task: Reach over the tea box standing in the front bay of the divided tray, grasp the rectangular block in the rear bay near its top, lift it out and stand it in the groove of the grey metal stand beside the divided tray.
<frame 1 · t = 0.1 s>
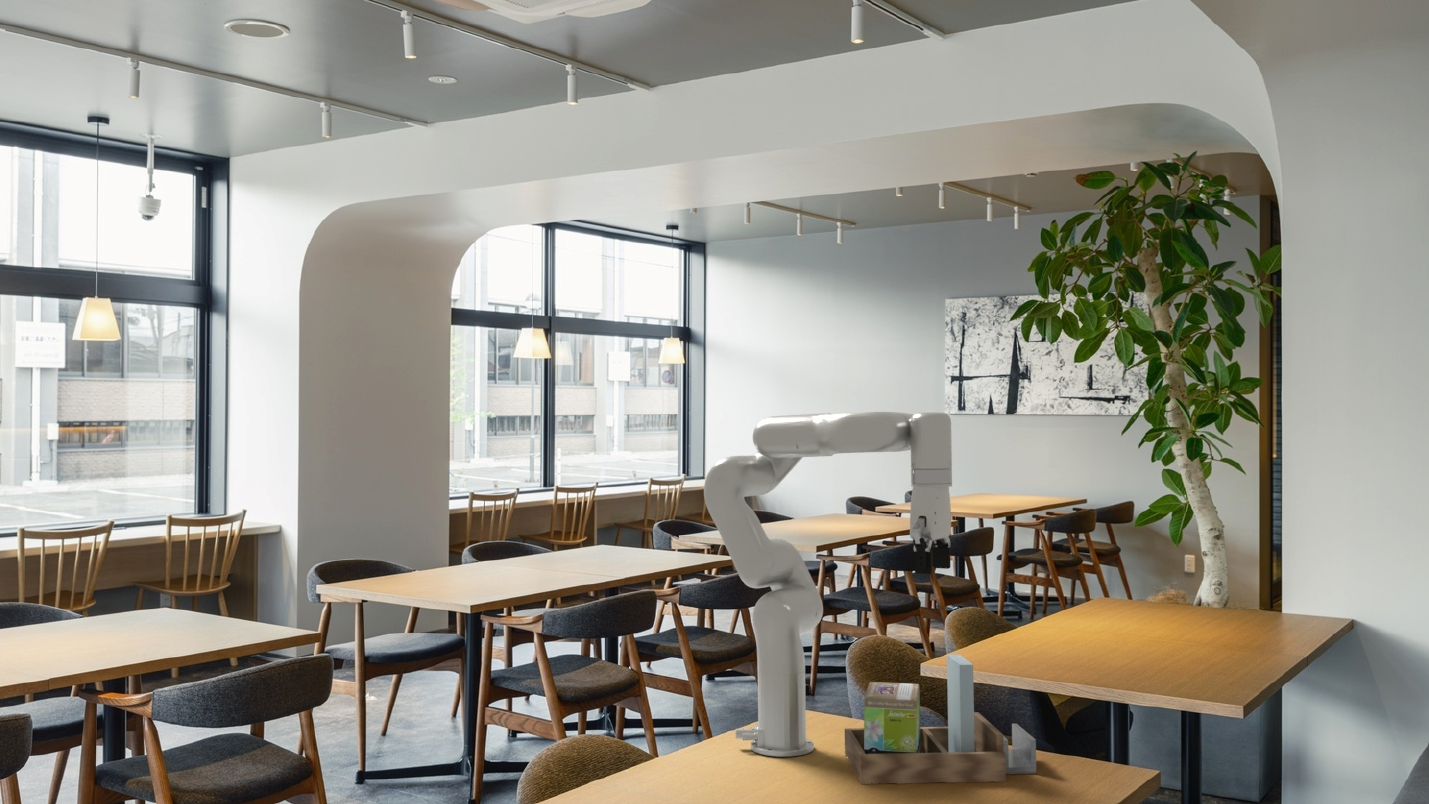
hand: (932, 570, 215), 37 cm above the table, tool pointing down, fingers open, 9 cm apart
rectangular block: (961, 766, 217), resting in divided tray
tea box: (892, 769, 217), resting in divided tray
stand: (1010, 764, 218), on the table
divided tray: (921, 767, 217), on the table
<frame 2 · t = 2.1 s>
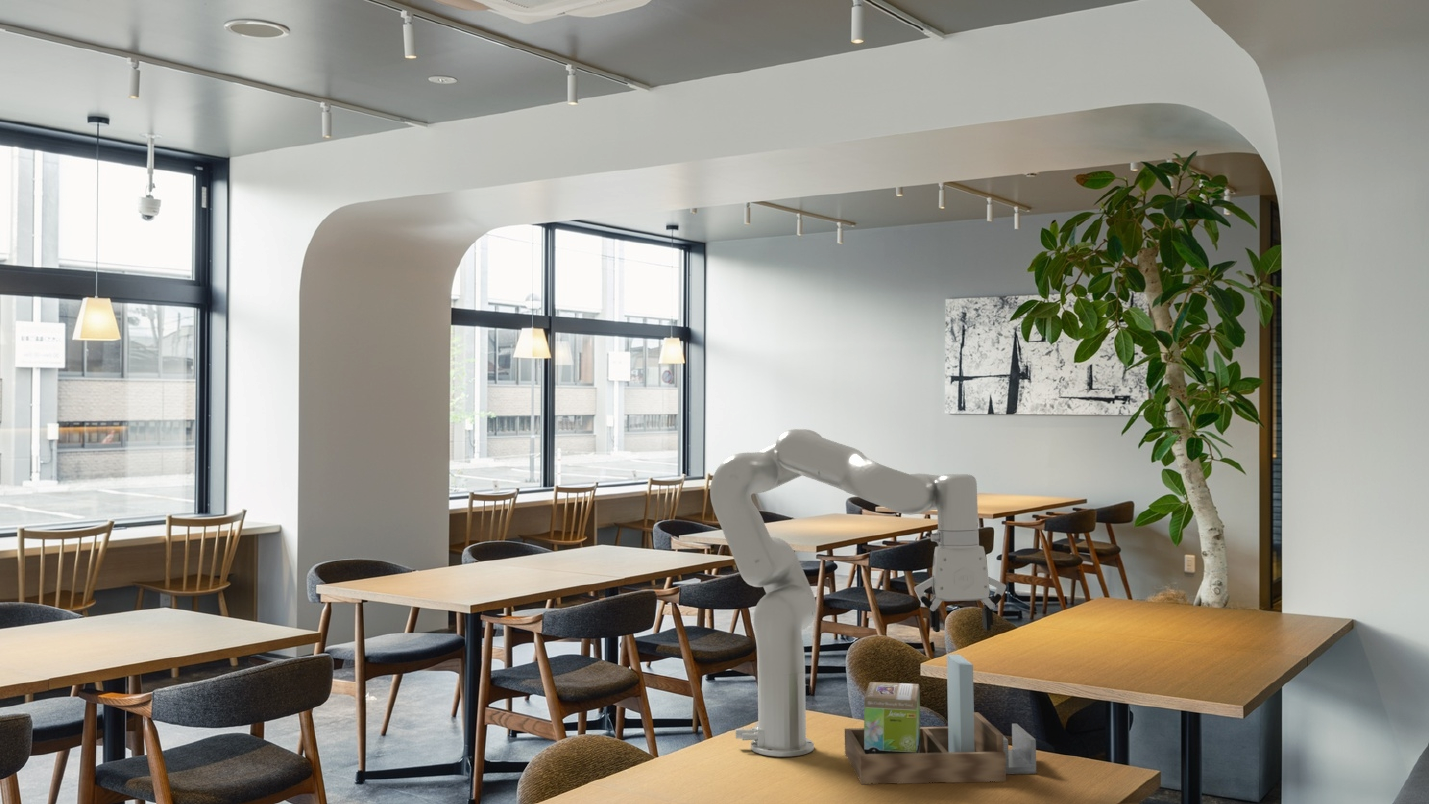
hand: (961, 630, 218), 25 cm above the table, tool pointing down, fingers open, 9 cm apart
nothing on the table moved.
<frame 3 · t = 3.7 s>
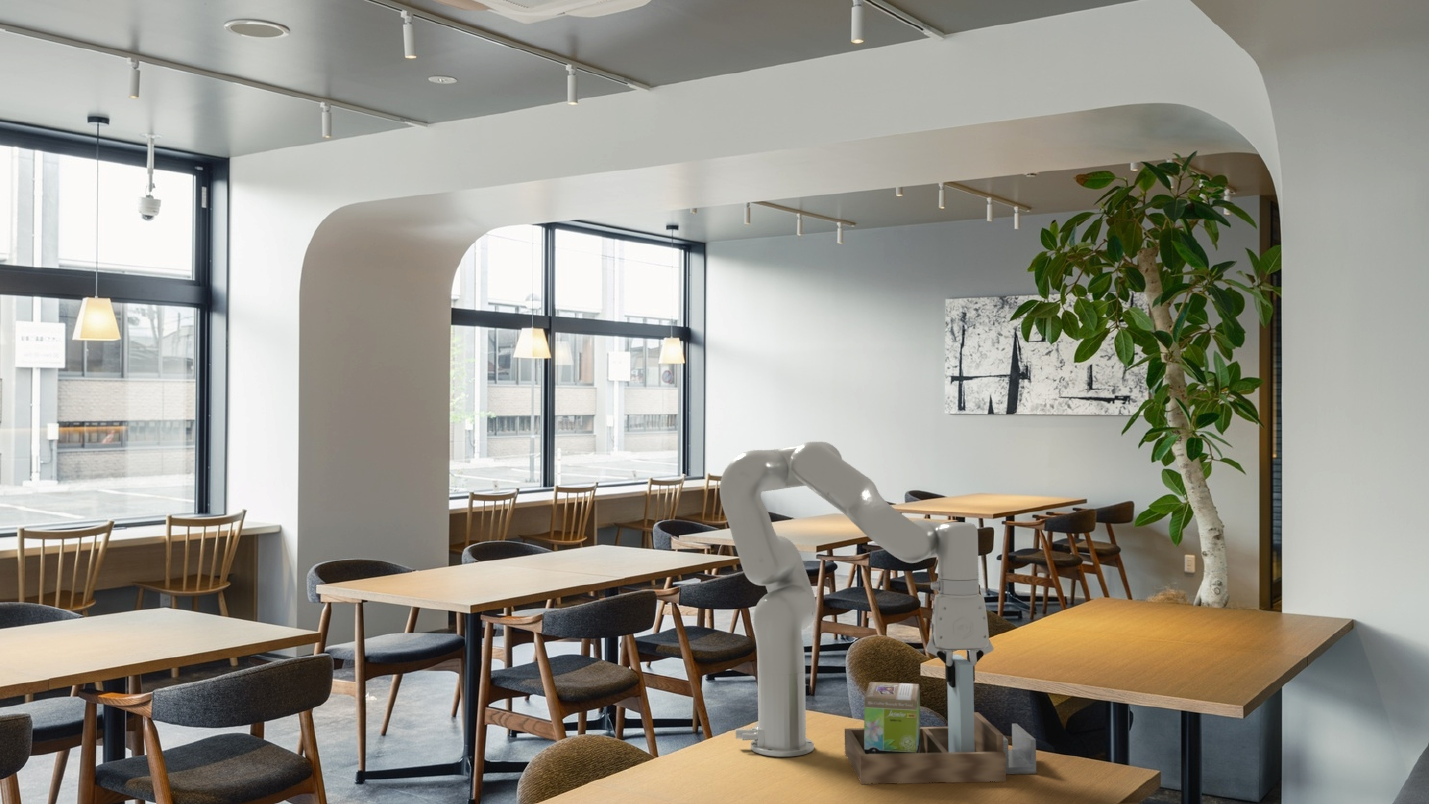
hand: (960, 685, 218), 15 cm above the table, tool pointing down, fingers closed on rectangular block, 2 cm apart
rectangular block: (961, 766, 217), resting in divided tray, touching gripper
everything else where it was.
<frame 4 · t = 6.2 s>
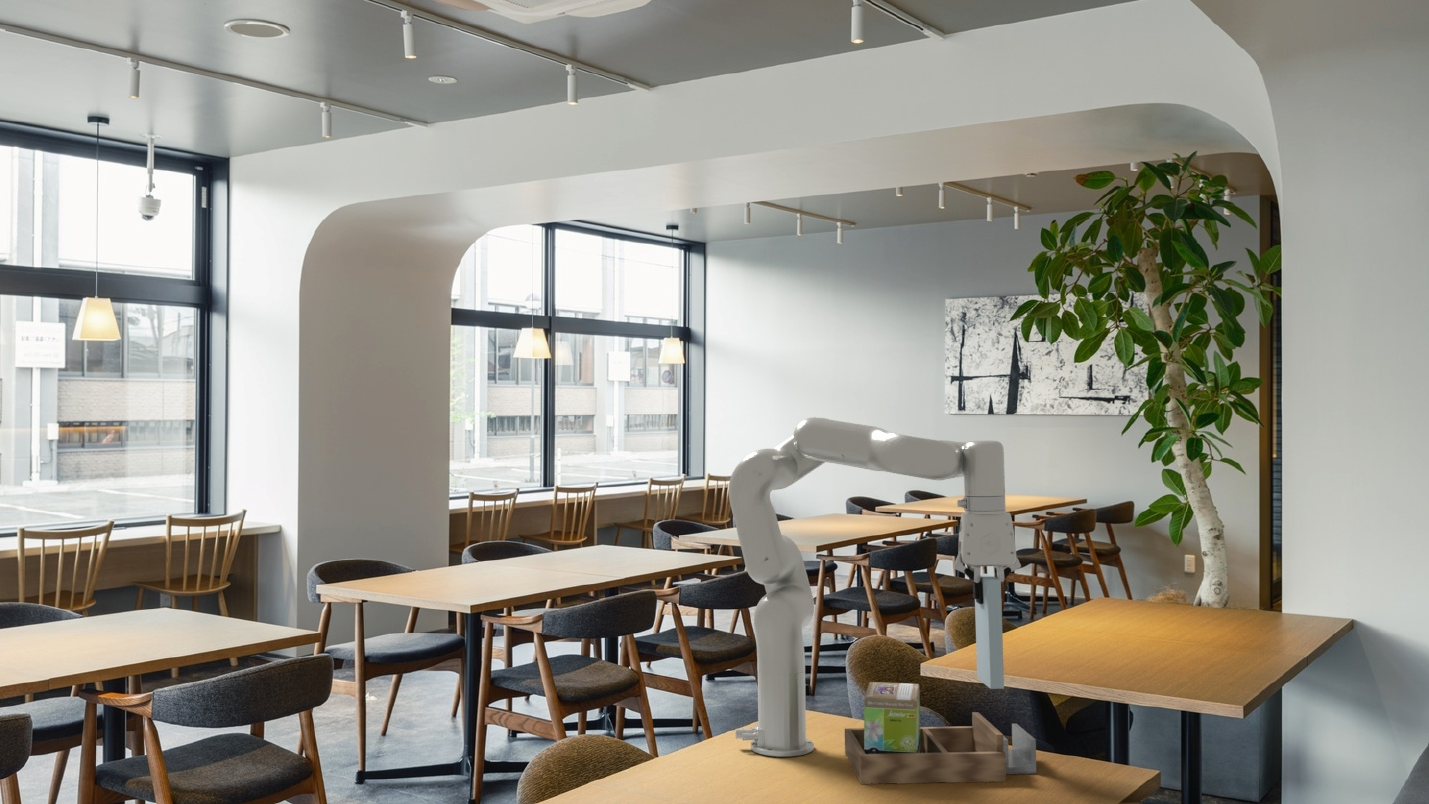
hand: (988, 602, 219), 31 cm above the table, tool pointing down, fingers closed on rectangular block, 2 cm apart
rectangular block: (990, 683, 218), point 15 cm above the table, touching gripper
everything else where it was.
when the fingers open (17 cm above the table, at t = 9.0 s): rectangular block drops 1 cm, resting on stand.
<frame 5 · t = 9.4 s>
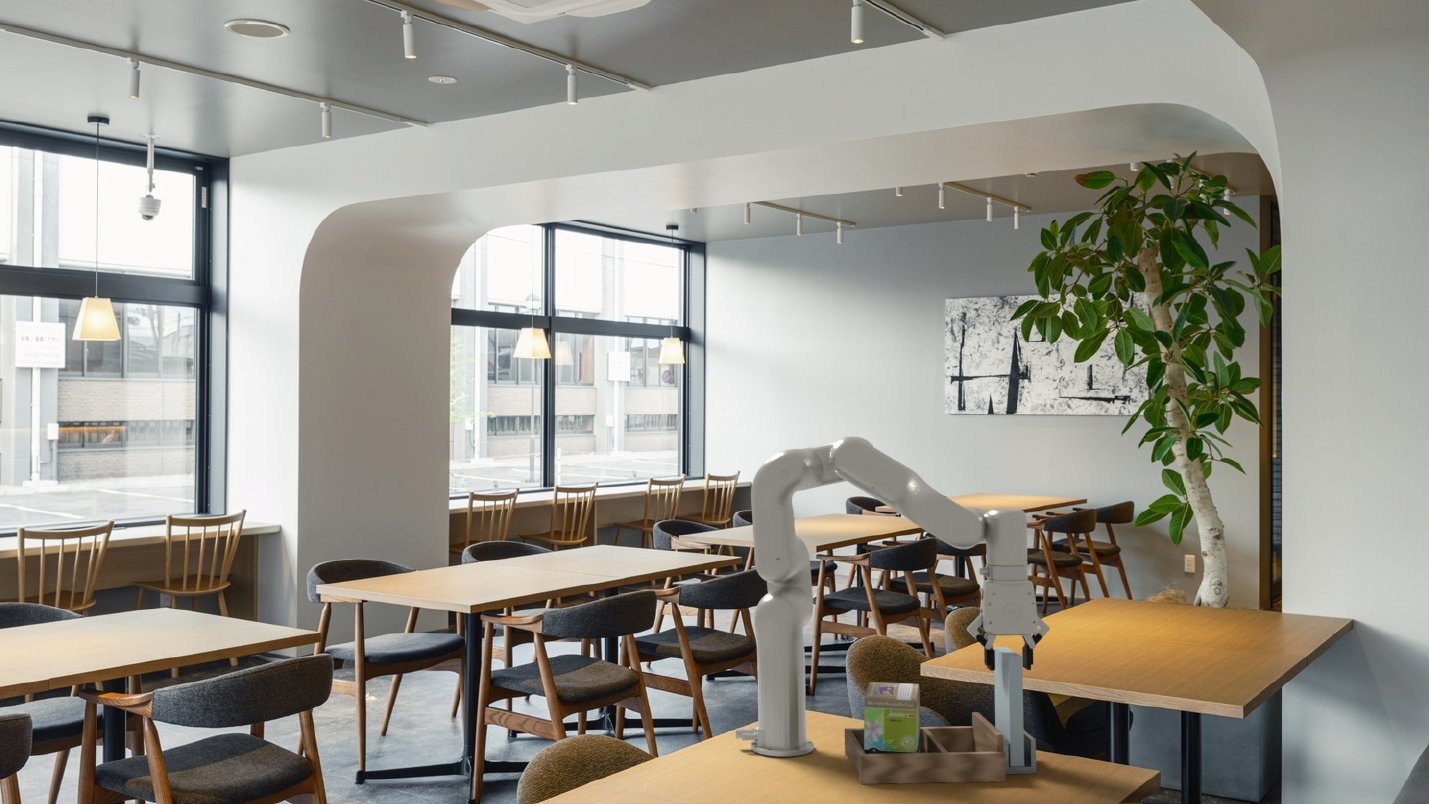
hand: (1008, 668, 219), 18 cm above the table, tool pointing down, fingers open, 6 cm apart
rectangular block: (1009, 758, 218), point 1 cm above the table, touching stand
everything else where it was.
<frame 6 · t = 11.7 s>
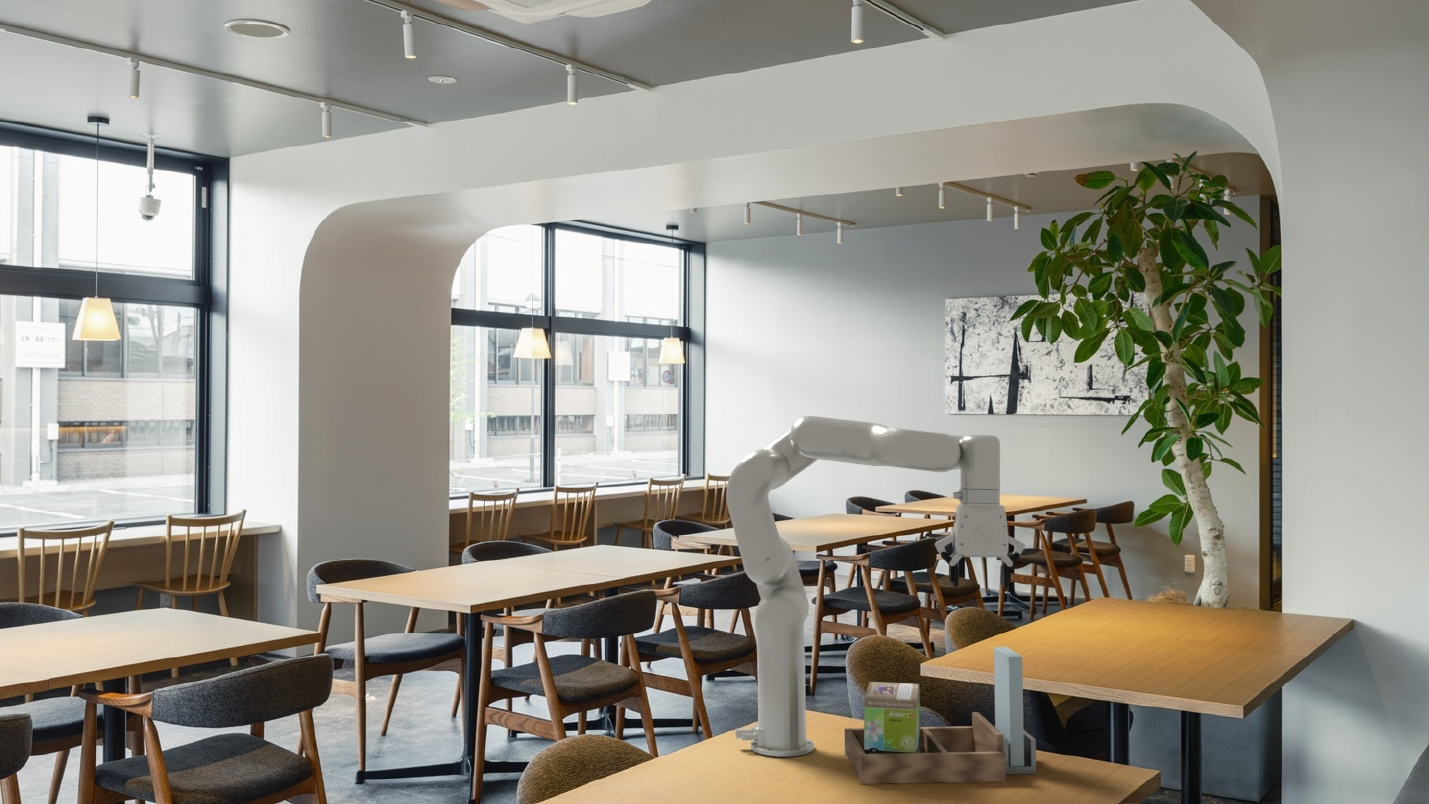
hand: (979, 586, 225), 33 cm above the table, tool pointing down, fingers open, 9 cm apart
nothing on the table moved.
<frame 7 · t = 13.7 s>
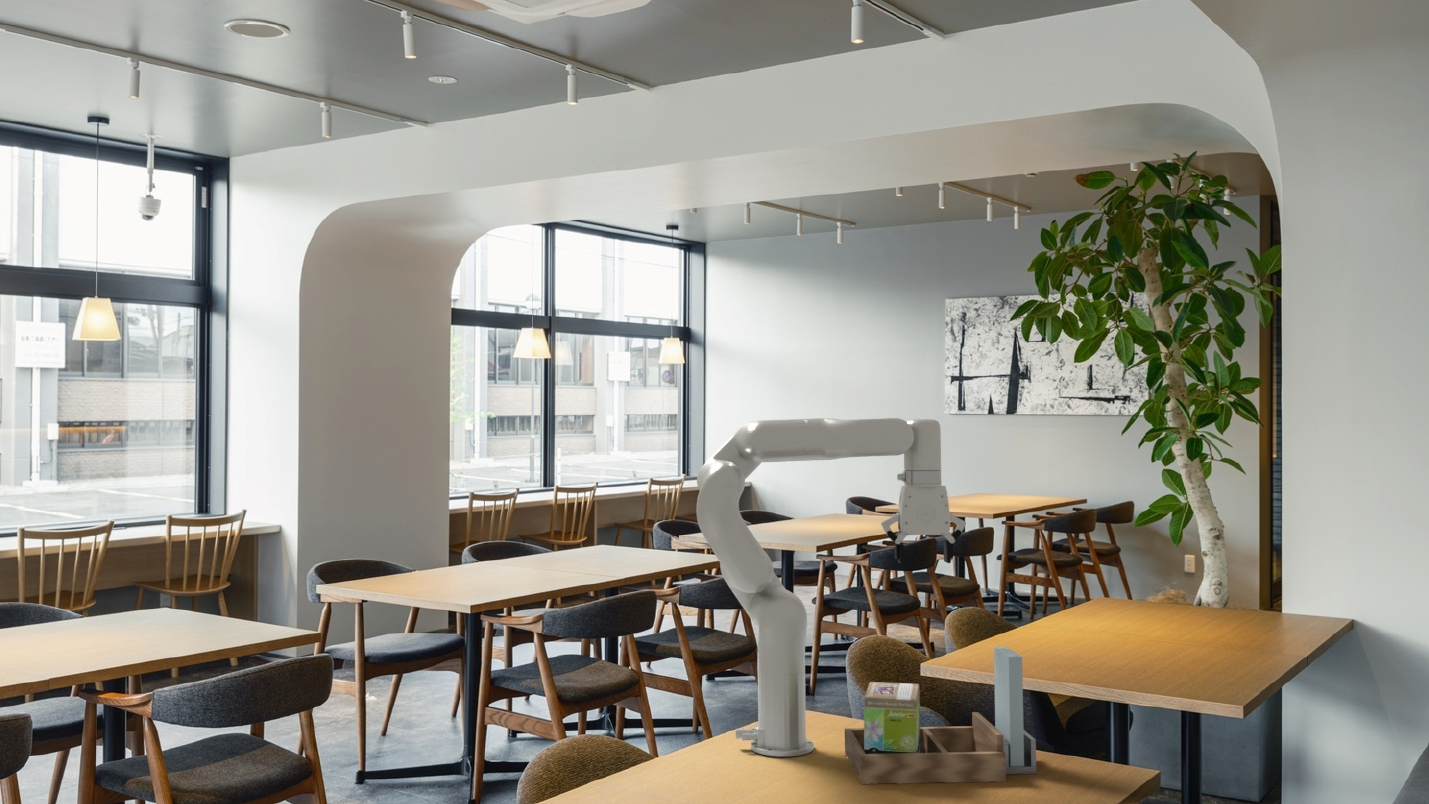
hand: (924, 562, 237), 36 cm above the table, tool pointing down, fingers open, 9 cm apart
nothing on the table moved.
at the end: rectangular block inside the target area on the stand (0.2 cm from its centre), point 1.2 cm above the stand's base; rectangular block tilted 0°; the gripper is holding nothing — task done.
